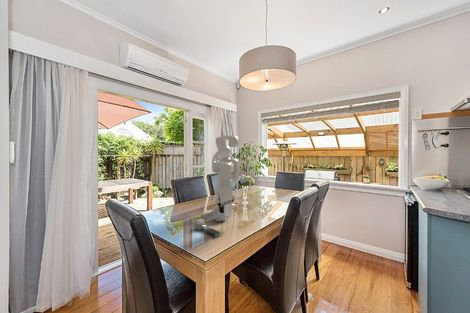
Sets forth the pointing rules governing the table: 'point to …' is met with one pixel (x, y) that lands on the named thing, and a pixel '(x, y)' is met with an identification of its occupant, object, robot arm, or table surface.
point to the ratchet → (205, 229)
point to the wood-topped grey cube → (226, 208)
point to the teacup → (217, 215)
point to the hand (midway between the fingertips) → (225, 211)
